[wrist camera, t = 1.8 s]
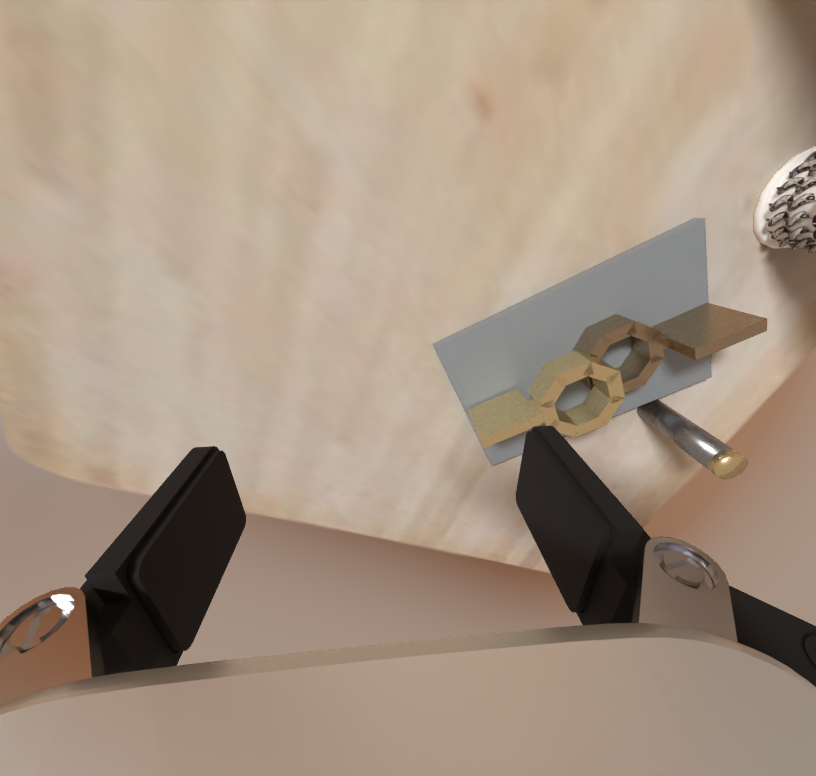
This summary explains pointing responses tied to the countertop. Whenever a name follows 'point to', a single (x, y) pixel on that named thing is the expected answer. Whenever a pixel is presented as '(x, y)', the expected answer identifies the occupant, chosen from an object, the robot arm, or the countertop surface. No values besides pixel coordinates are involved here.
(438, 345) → the slate board
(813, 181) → the decorative candle
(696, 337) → the fixed leaf
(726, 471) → the hinge pin
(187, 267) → the countertop surface
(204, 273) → the countertop surface
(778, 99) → the countertop surface
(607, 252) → the countertop surface
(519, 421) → the brass box-end wrench
